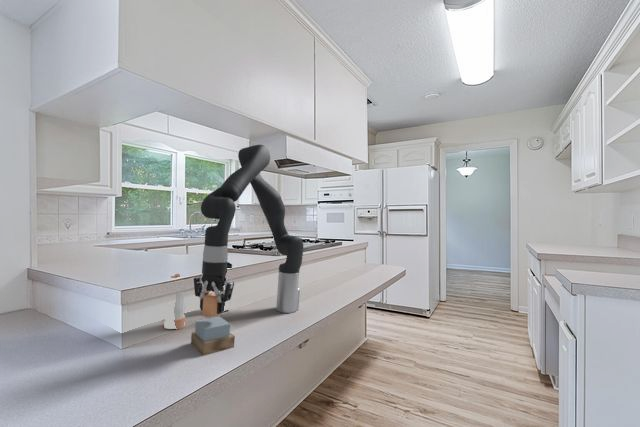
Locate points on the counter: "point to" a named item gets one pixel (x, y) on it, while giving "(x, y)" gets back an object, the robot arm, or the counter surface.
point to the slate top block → (212, 329)
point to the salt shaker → (179, 308)
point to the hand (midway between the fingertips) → (211, 311)
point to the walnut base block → (212, 344)
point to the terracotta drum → (210, 305)
